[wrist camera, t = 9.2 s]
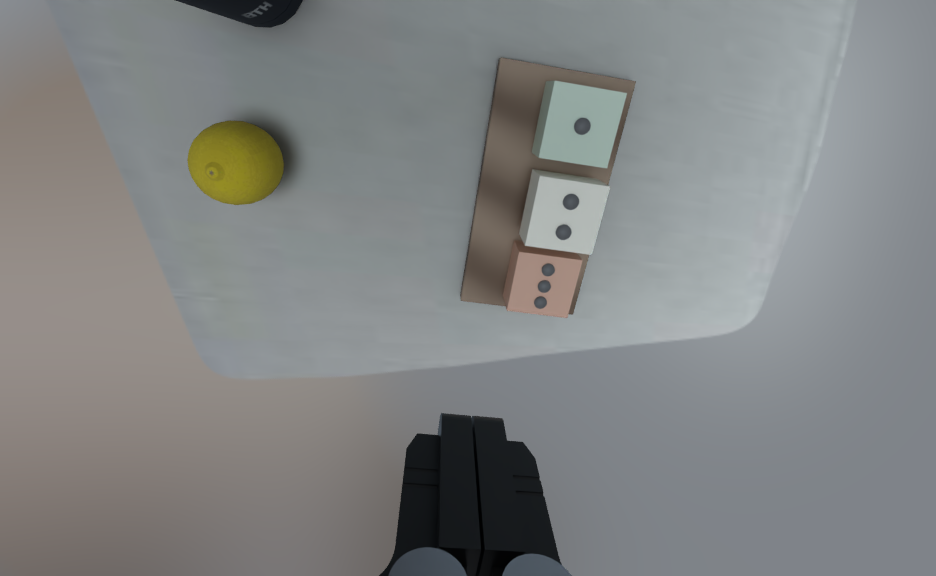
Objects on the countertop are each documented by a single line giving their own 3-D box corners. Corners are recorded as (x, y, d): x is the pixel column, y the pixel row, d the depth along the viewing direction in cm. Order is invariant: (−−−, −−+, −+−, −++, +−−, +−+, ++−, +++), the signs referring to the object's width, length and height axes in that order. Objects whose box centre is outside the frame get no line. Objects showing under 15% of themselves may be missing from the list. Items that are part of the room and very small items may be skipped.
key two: (532, 169, 34) (540, 176, 31) (597, 179, 35) (611, 187, 32) (519, 233, 36) (525, 246, 33) (580, 242, 36) (592, 256, 34)
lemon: (217, 115, 34) (155, 122, 27) (293, 119, 35) (252, 127, 27) (228, 190, 37) (173, 215, 29) (300, 193, 37) (263, 219, 30)
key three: (513, 239, 38) (519, 252, 35) (572, 248, 38) (583, 261, 35) (502, 295, 40) (507, 311, 37) (559, 302, 40) (567, 319, 37)
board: (499, 58, 34) (500, 57, 33) (630, 81, 35) (636, 81, 34) (460, 294, 41) (460, 300, 40) (569, 308, 42) (572, 314, 41)
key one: (545, 81, 33) (555, 80, 30) (612, 93, 34) (628, 93, 31) (531, 152, 35) (539, 158, 32) (594, 162, 36) (607, 169, 33)
